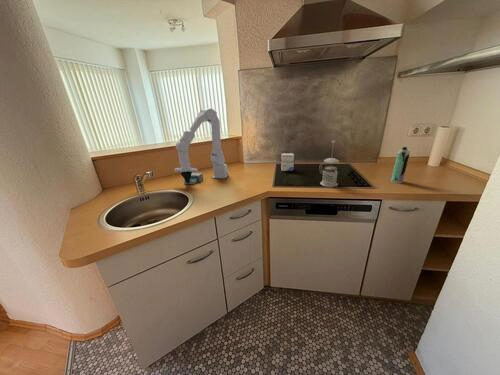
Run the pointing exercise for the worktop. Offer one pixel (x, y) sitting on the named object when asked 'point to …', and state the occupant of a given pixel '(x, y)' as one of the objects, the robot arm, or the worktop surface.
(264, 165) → the worktop surface
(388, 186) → the worktop surface
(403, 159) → the spray can
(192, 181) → the tray shell
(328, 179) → the french press
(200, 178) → the low shelf
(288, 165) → the ink box
